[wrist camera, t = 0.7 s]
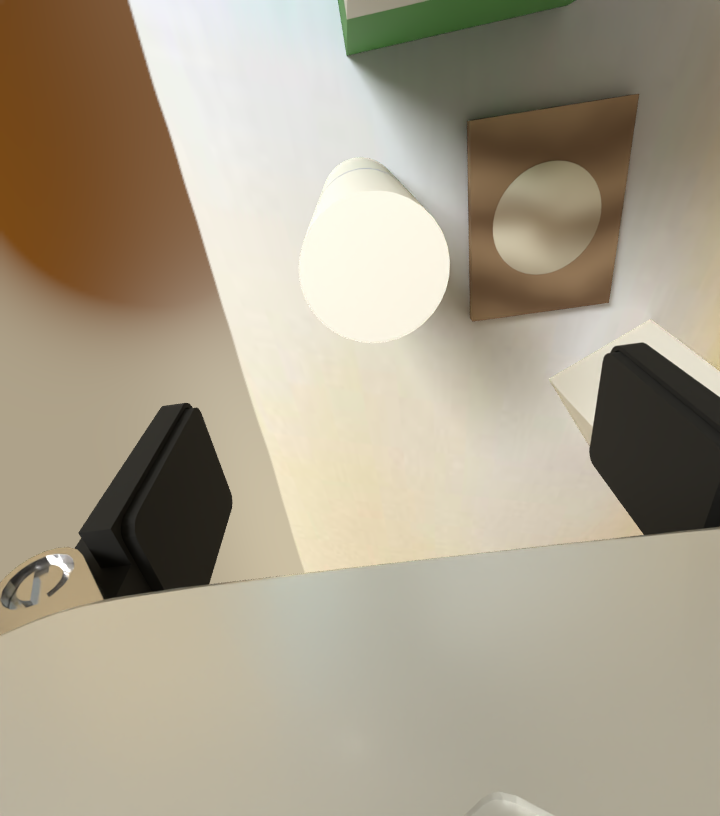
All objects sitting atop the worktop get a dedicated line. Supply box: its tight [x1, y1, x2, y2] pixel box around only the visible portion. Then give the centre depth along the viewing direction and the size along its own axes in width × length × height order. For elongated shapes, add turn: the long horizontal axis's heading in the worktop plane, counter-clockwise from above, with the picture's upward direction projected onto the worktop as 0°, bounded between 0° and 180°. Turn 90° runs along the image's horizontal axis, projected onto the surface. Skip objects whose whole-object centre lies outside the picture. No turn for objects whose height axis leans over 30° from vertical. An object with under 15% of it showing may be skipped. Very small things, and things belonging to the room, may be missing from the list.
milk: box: [549, 319, 720, 446], centre depth 43 cm, size 12×12×26 cm
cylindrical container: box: [299, 157, 450, 343], centre depth 33 cm, size 7×7×25 cm
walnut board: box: [467, 94, 639, 321], centre depth 44 cm, size 18×14×1 cm
